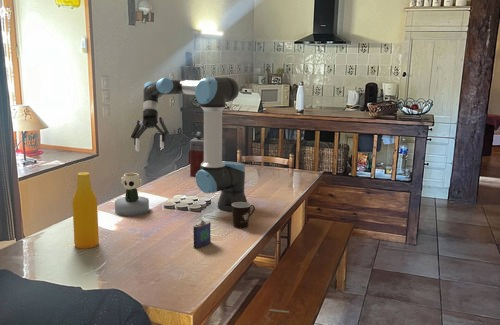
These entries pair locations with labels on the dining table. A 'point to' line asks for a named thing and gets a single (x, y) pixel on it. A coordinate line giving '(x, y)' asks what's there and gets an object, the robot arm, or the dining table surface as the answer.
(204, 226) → the flask
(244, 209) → the coffee mug
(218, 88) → the robot arm
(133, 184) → the character mug
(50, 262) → the dining table surface
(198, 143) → the glass decanter
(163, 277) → the dining table surface
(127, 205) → the plinth
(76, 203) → the beer bottle
